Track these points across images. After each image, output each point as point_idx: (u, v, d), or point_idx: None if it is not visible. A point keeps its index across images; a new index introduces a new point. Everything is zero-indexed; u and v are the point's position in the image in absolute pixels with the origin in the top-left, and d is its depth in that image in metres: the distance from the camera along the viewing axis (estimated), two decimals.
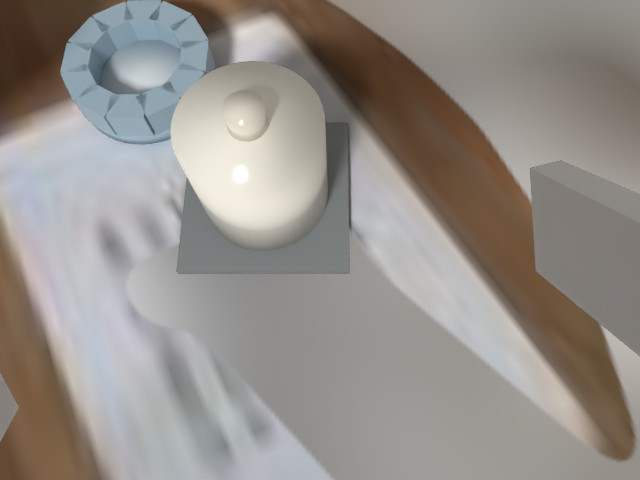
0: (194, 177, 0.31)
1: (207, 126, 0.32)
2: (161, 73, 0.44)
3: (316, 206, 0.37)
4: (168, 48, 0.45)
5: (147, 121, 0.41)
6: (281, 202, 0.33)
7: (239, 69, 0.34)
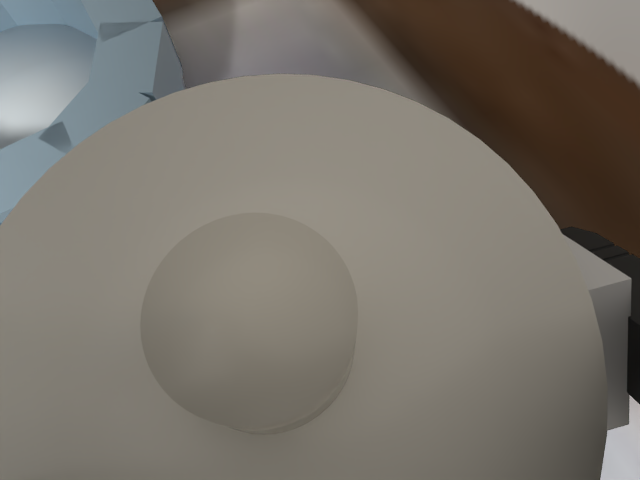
0: None
1: (97, 350, 0.08)
2: (60, 99, 0.19)
3: None
4: (80, 41, 0.20)
5: None
6: None
7: (233, 104, 0.09)
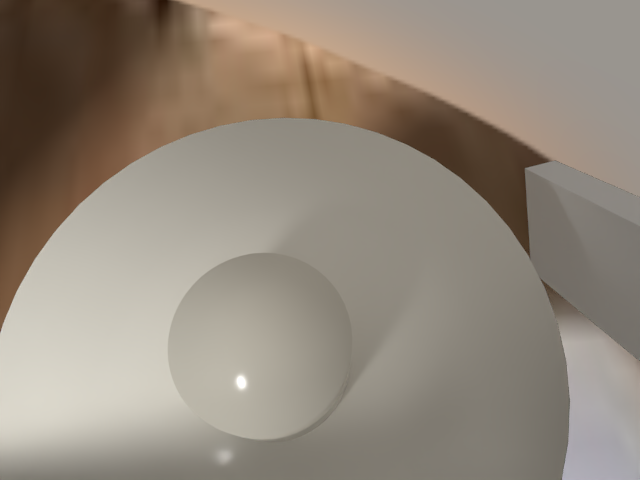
0: None
1: (125, 368, 0.09)
2: None
3: None
4: None
5: None
6: None
7: (242, 146, 0.10)
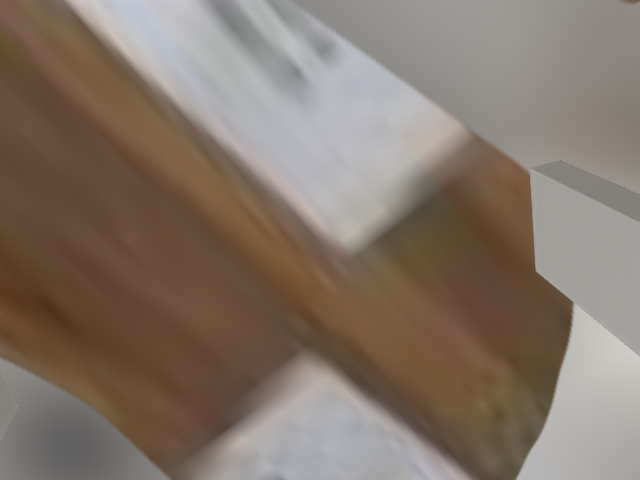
0: None
1: None
2: None
3: None
4: None
5: None
6: None
7: None
